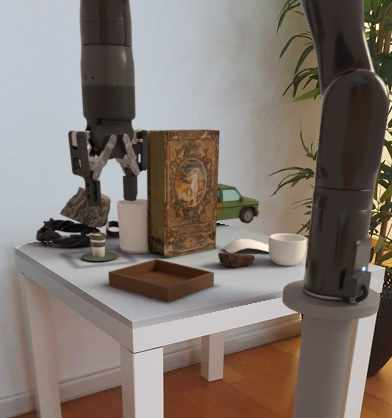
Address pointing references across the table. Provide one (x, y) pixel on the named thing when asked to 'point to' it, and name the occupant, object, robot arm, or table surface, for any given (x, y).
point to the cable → (68, 226)
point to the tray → (161, 279)
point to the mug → (133, 225)
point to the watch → (111, 233)
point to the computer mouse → (245, 245)
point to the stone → (236, 259)
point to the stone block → (87, 210)
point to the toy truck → (235, 205)
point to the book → (182, 191)
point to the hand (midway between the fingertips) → (113, 202)
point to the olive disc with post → (98, 249)
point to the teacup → (286, 248)
